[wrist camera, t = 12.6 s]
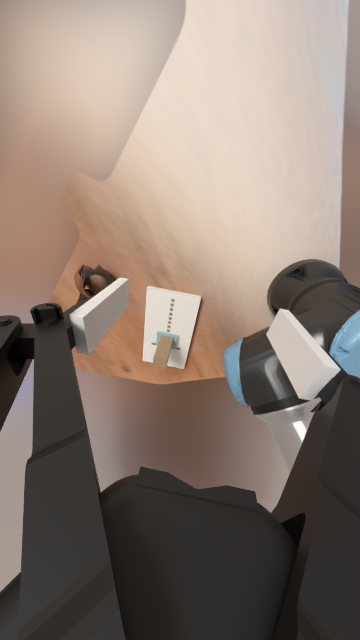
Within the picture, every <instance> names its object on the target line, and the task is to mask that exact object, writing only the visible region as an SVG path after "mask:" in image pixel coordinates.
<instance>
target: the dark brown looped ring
mask: <svg viewBox="0 0 360 640" xmlns="http://www.w3.org/2000/svg"><path fill="white" fill-rule="evenodd" d="M82 269H83V274H82V276H81V272H82ZM95 274H97V275H101V276H103V277H104V278H106V279H107V281H108V283H109V285H110V284H112V283H113V282H114V278H113V276H112V275H111V274H110V273H109V272H108V271H106V270H105V269H103V268H102V267H101V266H100V265H98V266H97V267H96V269H95V270H93V269H92V268H91V267H88V266H84V265H82V266H81V267H80V268H79V269H78V271H77V273H76V274H75V284H76V287H77V289H78V290H79V292H80V297H79V299H78V301H77V303H78V302H79V301H82V300H85V299H91V298H93V297H94V296H93V294H94V292H93V291H91V290H90V289H84V288H85V286H86V285H87V284H86V283H85V282H84V281H85V279H86V278H87V277H88V276H91V275H95Z"/></svg>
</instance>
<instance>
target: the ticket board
mask: <svg viewBox="0 0 360 640" xmlns="http://www.w3.org/2000/svg"><path fill="white" fill-rule="evenodd" d="M200 301H201V296H198V295H193V294H188V293H183V292H177V291H172V290H167V289H162V288H157V287H152V286H148V287H147V297H146V314H145V331H144V348H143V361H147V362H152V363H153V357H154V354H155V351H156V348H157V346H156V339H157V332H158V331H160V332H165V333H170V334H174V335H178V338H177V343H176V348H175V349H171V351H170V355H169V359H168V363H167V366H171V367H176V368H181V369H184V367H185V363H186V359H187V354H188V350H189V346H190V342H191V338H192V334H193V330H194V325H195V321H196V317H197V313H198V309H199V305H200Z"/></svg>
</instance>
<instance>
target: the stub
mask: <svg viewBox="0 0 360 640" xmlns="http://www.w3.org/2000/svg"><path fill="white" fill-rule="evenodd" d="M177 338H178V335H174V334H170V333H165V332H160V331H158V332H157V339H156V346H157V348H156V351H155V354H154V357H153V366H152V367H156V368H161V369H166V367H167V363H168V359H169V355H170V351H171V349H175V348H176V343H177Z"/></svg>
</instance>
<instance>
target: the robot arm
mask: <svg viewBox="0 0 360 640" xmlns="http://www.w3.org/2000/svg"><path fill="white" fill-rule="evenodd" d="M267 300H268V305H269V307H270V309H271V310H272V312H273V313H274V314H275V315H276V317H275V319H274V321H273V323H272V324H271V326H269V327H267V328H265V329H263V330H261V331H259V332H257V333H255V334H252V335H250V336H248V337H244V338H242V339H241V340H240V341H238V342H236V343H234V344H232V345H231V346H229V347H228V348H227V350H226V352H225V356H224V367H225V373H226V377H227V380H228V383H229V386H230V389H231V391H232V393H233V395H235V398H236V400H237V401H238V403H240V404H241V405H243V406H250V407H251V409H252V411H253V414H254V415H255V417H257V418H259V419H260V420H262V421H264V422H266V423H267V424H268V425H269V428H270V430H271V432H272V434H273V436H274V438H275V441H276V443H277V445H278V447H279V449H280V452H281V454H282V456H283V458H284V460H285V462H286V465H287V467H288V469H289V471H290V475H289V477H288V480H287V482H286V485H285V487H284V490H283V492H282V495H281V497H280V500H279V502H278V504H277V506H276V507H275V509H274V510H273V511H272V512H271V513H270V512H269V511H268V510H267V509H266V508H264V507H263V506H262V505H260V504H259V503H257V500H256V494H255V492H254V491H250V490H245V489H240V488H236V487H231V486H227V485H226V486H220V487H212V488H207V489H195V488H193V487H192V486H190V485H188V484H187V483H185V482H183V481H181V480H180V479H178V478H176V477H174V476H173V475H171V474H170V473H167V472H163V471H158V470H154V469H149V468H145V467H140V471H139V474H138V475H132V476H128V477H125V478H123V479H120V480H118V481H116V482H115V483H113V484H112V485H110V486H109V487H107V488H106V489H105V490H103V491H102V492H100V487H99V482H98V478H97V473H96V468H95V464H94V459H93V454H92V449H91V444H90V439H89V434H88V429H87V425H86V420H85V416H84V410H83V405H82V401H81V395H80V390H79V385H78V380H77V376H76V371H75V366H74V361H73V356H72V351H71V350H72V349H73V348H74V347H75V346H76V350H77V353H81V354H86V355H89V354H90V353H91V352H92V351H93V350H94V348H95V347H96V346H97V345H98V344H99V342H100V341H101V340H102V339H103V337H104V336H105V335H106V334H107V333H108V331H109V330H110V329H111V328H112V327H113V325H114V324H115V323H116V322H117V321H118V319H119V318H120V317H121V316H122V314H123V313H124V312H125V311H126V310H127V308H128V307H129V279H126V278H118V279H117V280H116V281H114V282H113V283H112V284H110V285H109V286H108V287H106V288H105V289H104V290H102V291H101V292H99V293H98V294H97V295H95V296H94V297H93V298H91V299H85V300H82V301H79V302H78V303H77V304H75V305H74V306H72V307H71V308H69V309H68V310H66V311H65V312H64V313H62V308H61V306H60V305H58V304H54V303H45V304H40V305H37V306H35V307H33V308H32V309H31V311H30V312H31V314H32V318H33V320H34V323H35V324H22V323H21V321H20V319H19V317H17V316H10V315H8V316H0V431H1V429H2V426H3V424H4V422H5V420H6V417H7V415H8V413H9V411H10V409H11V406H12V404H13V402H14V400H15V397H16V395H17V393H18V391H19V388H20V386H21V384H22V382H23V379H24V377H25V375H26V373H27V370H28V368H29V366H30V364H31V361H32V359H34V401H33V403H34V404H33V451H32V456H31V457H30V458H29V459H28V461H27V464H26V471H25V490H24V515H23V538H22V560H21V572H20V573H19V574H18V575H17V576H16V577H15V578H14V579H13V580H12V581H11V582H10V583H9V584H8V585H7V586H6V587H5V588H4V589H3V590H2V591H1V592H0V640H360V288H358V287H356V286H354V285H351V284H349V283H348V282H347V280H346V279H345V277H344V275H343V274H342V272H341V271H340V270H339V269H338V268H337V267H336V266H334V265H332V264H330V263H328V262H325V261H322V260H317V259H309V260H303V261H299V262H296V263H294V264H292V265H290V266H288V267H287V268H285V269H284V270H283V271H281V272H280V273H279V274H278V275H277V276H276V277H275V279H274V280H273V281H272V283H271V285H270V287H269V290H268V295H267Z"/></svg>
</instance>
